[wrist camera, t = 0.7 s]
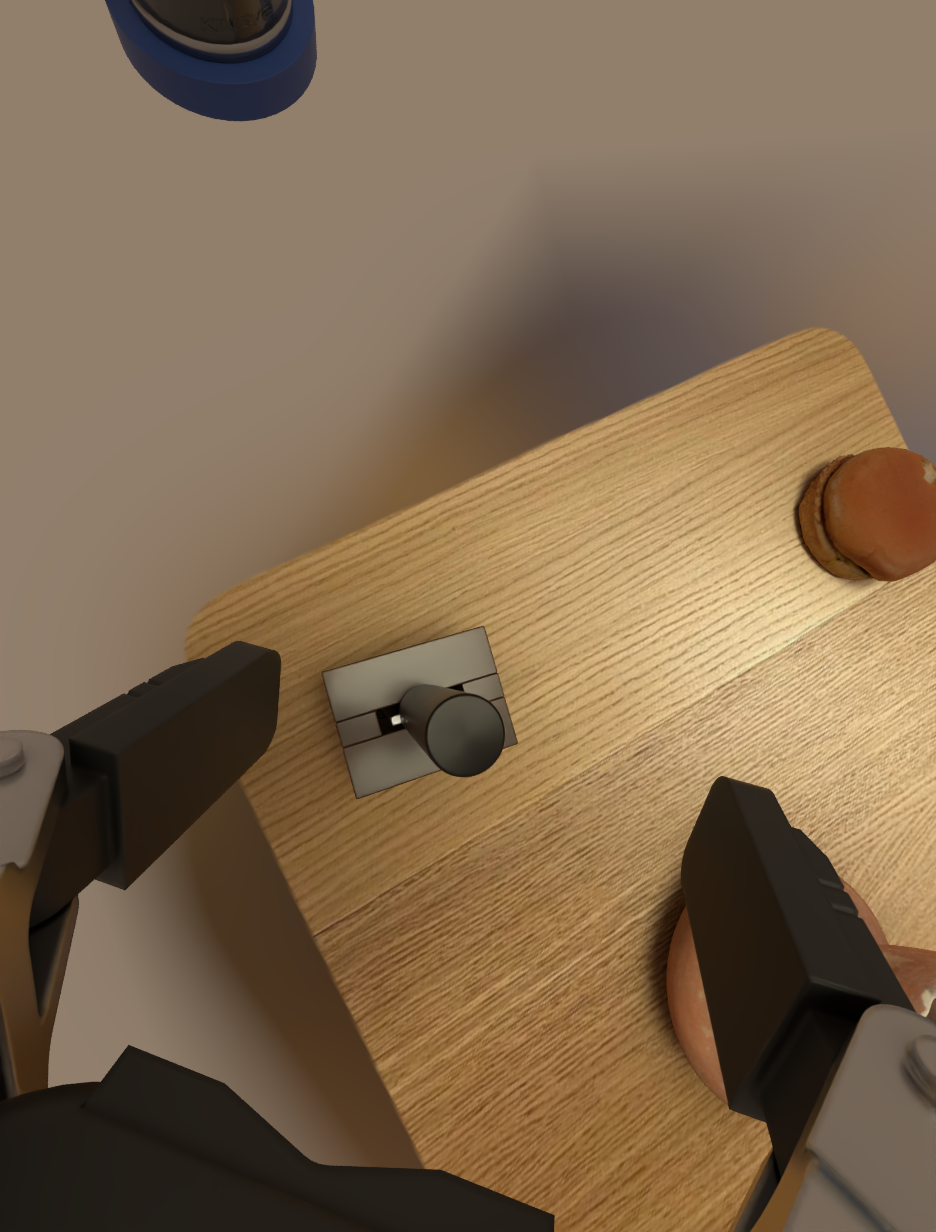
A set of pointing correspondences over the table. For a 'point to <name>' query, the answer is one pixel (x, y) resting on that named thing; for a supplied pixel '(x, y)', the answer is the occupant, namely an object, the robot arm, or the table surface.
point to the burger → (872, 515)
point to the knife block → (383, 681)
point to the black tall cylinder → (451, 728)
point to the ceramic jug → (920, 972)
